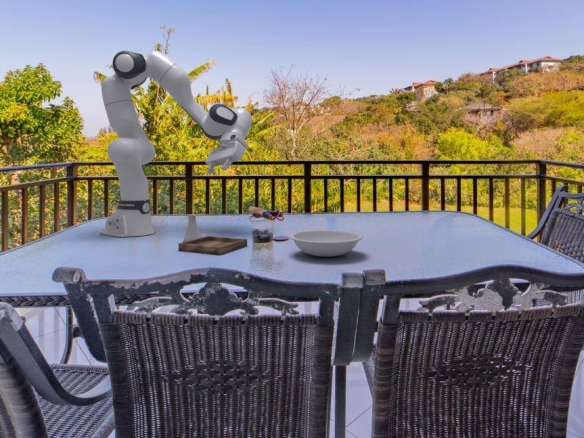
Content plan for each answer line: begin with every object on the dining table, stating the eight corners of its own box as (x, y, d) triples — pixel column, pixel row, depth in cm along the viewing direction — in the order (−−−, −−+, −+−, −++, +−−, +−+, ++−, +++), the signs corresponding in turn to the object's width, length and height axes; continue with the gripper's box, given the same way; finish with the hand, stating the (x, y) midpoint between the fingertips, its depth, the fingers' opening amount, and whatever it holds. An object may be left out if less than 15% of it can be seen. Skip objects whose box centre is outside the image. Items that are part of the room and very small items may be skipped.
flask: (198, 243, 179) (197, 216, 178) (179, 242, 181) (178, 216, 179) (205, 239, 186) (204, 214, 185) (187, 239, 188) (186, 213, 186)
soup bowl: (342, 267, 141) (343, 245, 141) (274, 258, 154) (274, 237, 153) (374, 252, 162) (374, 233, 161) (311, 245, 174) (311, 227, 173)
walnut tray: (178, 250, 165) (178, 243, 165) (208, 242, 180) (207, 235, 180) (220, 255, 158) (220, 247, 158) (247, 246, 173) (247, 239, 173)
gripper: (210, 143, 202) (196, 170, 196) (240, 134, 187) (226, 162, 181) (221, 152, 205) (207, 179, 200) (251, 144, 191) (237, 172, 185)
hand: (216, 171), depth 190 cm, fingers open, 8 cm apart
